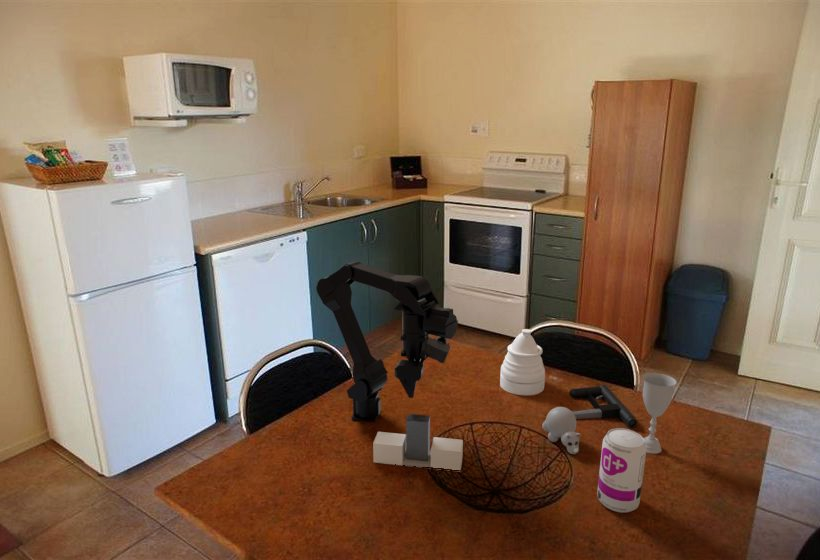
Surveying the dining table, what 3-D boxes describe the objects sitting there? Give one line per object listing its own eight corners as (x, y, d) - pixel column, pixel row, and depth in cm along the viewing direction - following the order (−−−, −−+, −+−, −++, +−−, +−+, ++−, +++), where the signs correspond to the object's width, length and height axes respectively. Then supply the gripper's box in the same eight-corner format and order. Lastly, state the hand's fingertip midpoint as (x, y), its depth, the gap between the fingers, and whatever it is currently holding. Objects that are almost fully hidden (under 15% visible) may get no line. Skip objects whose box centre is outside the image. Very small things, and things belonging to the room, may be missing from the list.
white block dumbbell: (373, 462, 131) (373, 443, 130) (378, 450, 136) (378, 431, 135) (460, 471, 128) (460, 452, 127) (462, 458, 133) (462, 439, 131)
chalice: (667, 444, 139) (676, 376, 133) (666, 458, 133) (676, 388, 128) (634, 437, 142) (643, 370, 136) (632, 451, 136) (641, 382, 131)
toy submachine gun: (581, 423, 144) (642, 417, 145) (555, 387, 163) (610, 381, 164) (580, 435, 145) (642, 428, 146) (555, 397, 164) (609, 392, 165)
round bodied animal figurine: (556, 465, 135) (565, 443, 129) (537, 424, 144) (544, 402, 138) (584, 461, 136) (594, 439, 131) (563, 420, 145) (571, 398, 140)
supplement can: (618, 519, 113) (626, 453, 109) (588, 495, 120) (594, 432, 116) (647, 507, 116) (656, 442, 112) (616, 484, 123) (623, 423, 119)
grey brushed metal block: (406, 459, 131) (406, 420, 128) (408, 452, 134) (408, 413, 131) (427, 461, 130) (428, 422, 127) (429, 454, 133) (430, 415, 130)
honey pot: (548, 395, 162) (552, 336, 157) (503, 395, 162) (506, 336, 157) (539, 375, 175) (543, 320, 170) (497, 375, 175) (499, 320, 170)
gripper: (443, 347, 126) (442, 410, 130) (452, 318, 144) (450, 374, 148) (393, 343, 128) (394, 406, 132) (408, 315, 145) (408, 371, 150)
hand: (414, 388), depth 140 cm, fingers open, 9 cm apart
